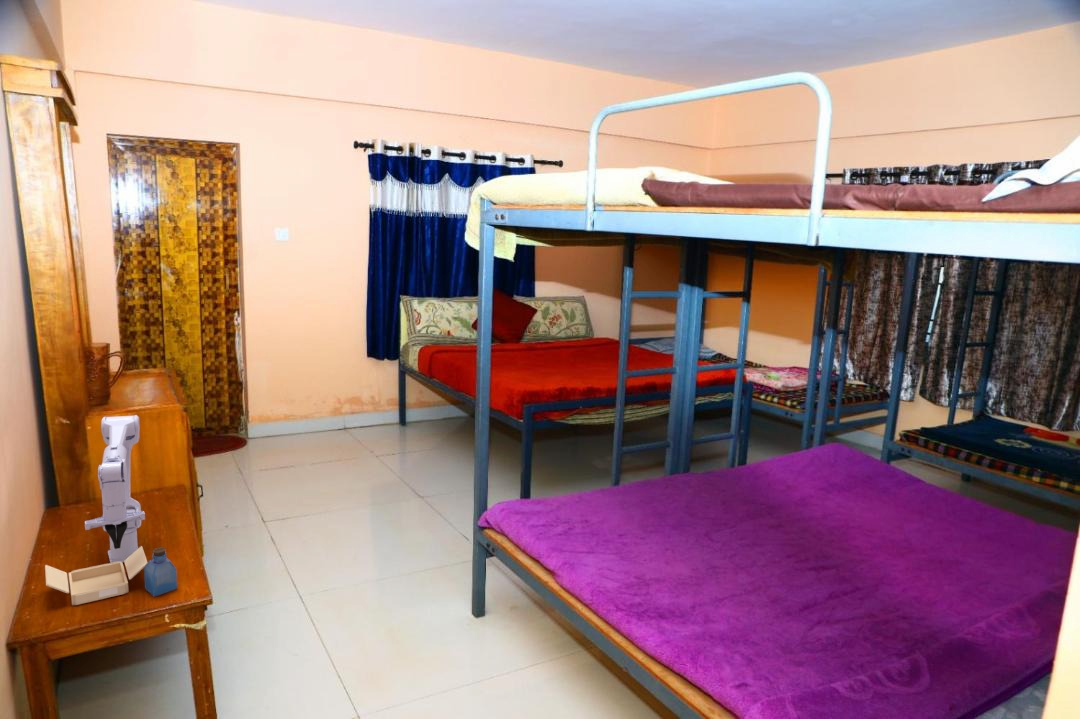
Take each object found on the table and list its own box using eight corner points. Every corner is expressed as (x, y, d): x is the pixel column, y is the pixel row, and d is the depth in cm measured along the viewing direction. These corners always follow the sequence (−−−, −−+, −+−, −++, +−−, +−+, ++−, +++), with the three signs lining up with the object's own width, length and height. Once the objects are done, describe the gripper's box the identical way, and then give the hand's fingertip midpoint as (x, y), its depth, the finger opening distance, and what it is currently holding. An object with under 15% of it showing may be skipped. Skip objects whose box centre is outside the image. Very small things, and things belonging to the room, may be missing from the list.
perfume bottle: (167, 580, 202) (165, 542, 200) (177, 588, 198) (175, 550, 196) (145, 588, 197) (142, 549, 195) (154, 596, 194) (152, 557, 191)
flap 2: (124, 560, 204) (141, 545, 206) (125, 561, 205) (142, 546, 207) (129, 579, 195) (146, 563, 197) (130, 579, 195) (148, 563, 197)
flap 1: (65, 573, 196) (44, 566, 193) (66, 572, 196) (45, 564, 193) (68, 593, 187) (46, 585, 183) (69, 592, 187) (47, 584, 183)
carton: (69, 581, 198) (68, 571, 198) (122, 569, 206) (121, 560, 206) (72, 606, 186) (71, 596, 186) (128, 593, 194) (128, 583, 194)
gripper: (85, 512, 189) (88, 558, 191) (145, 502, 197) (148, 546, 200) (82, 503, 194) (86, 548, 197) (142, 494, 203) (144, 537, 205)
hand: (117, 547), depth 198 cm, fingers closed
